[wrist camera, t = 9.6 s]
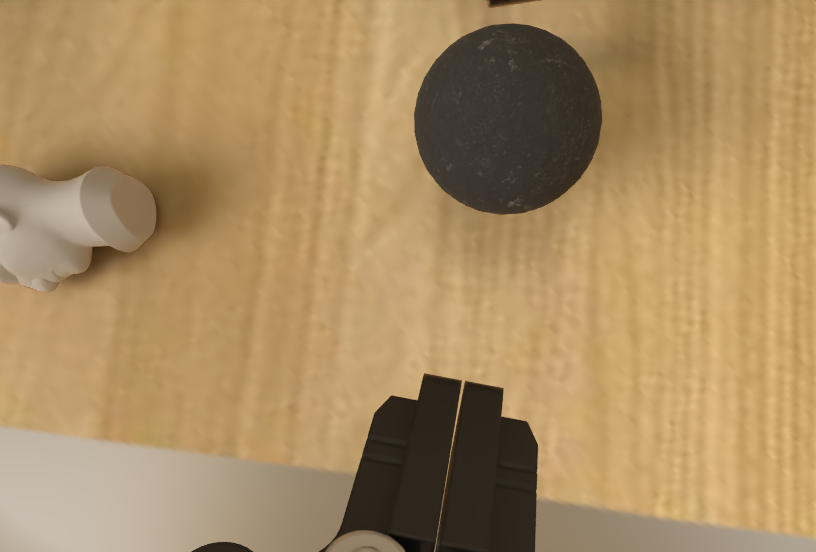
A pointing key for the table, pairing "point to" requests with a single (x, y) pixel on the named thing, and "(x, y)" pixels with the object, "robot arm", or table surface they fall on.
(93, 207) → the pale two-lobed sculpture
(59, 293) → the table surface
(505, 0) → the drawer
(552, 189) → the light bulb
